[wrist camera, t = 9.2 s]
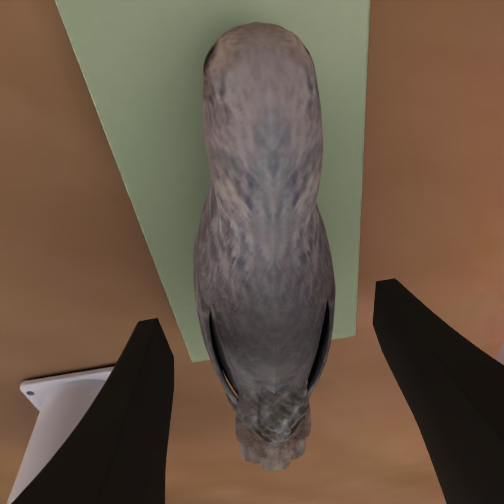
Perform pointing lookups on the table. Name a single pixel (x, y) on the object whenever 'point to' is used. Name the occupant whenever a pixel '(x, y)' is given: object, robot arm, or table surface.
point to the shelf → (192, 121)
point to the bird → (264, 238)
